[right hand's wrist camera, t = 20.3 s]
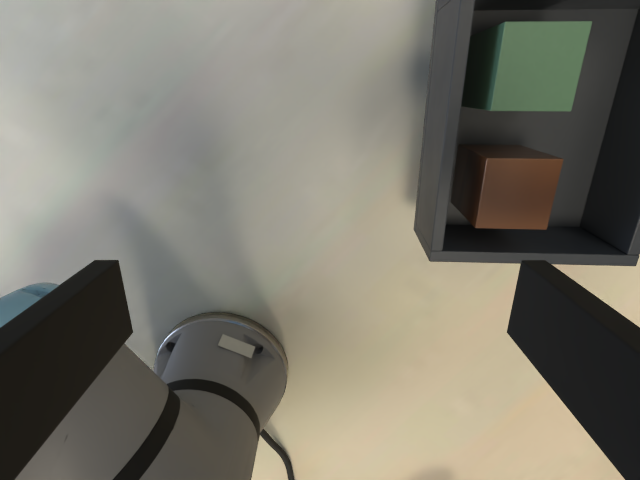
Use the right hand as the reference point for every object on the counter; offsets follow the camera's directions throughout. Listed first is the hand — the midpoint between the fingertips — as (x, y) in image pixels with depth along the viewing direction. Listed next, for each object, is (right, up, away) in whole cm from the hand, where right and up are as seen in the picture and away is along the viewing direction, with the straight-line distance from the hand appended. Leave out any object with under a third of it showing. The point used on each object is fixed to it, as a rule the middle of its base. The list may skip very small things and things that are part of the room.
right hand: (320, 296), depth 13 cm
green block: (+12, +14, +14) cm, 23 cm away
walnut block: (+13, +7, +16) cm, 22 cm away
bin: (+20, +10, +15) cm, 27 cm away
